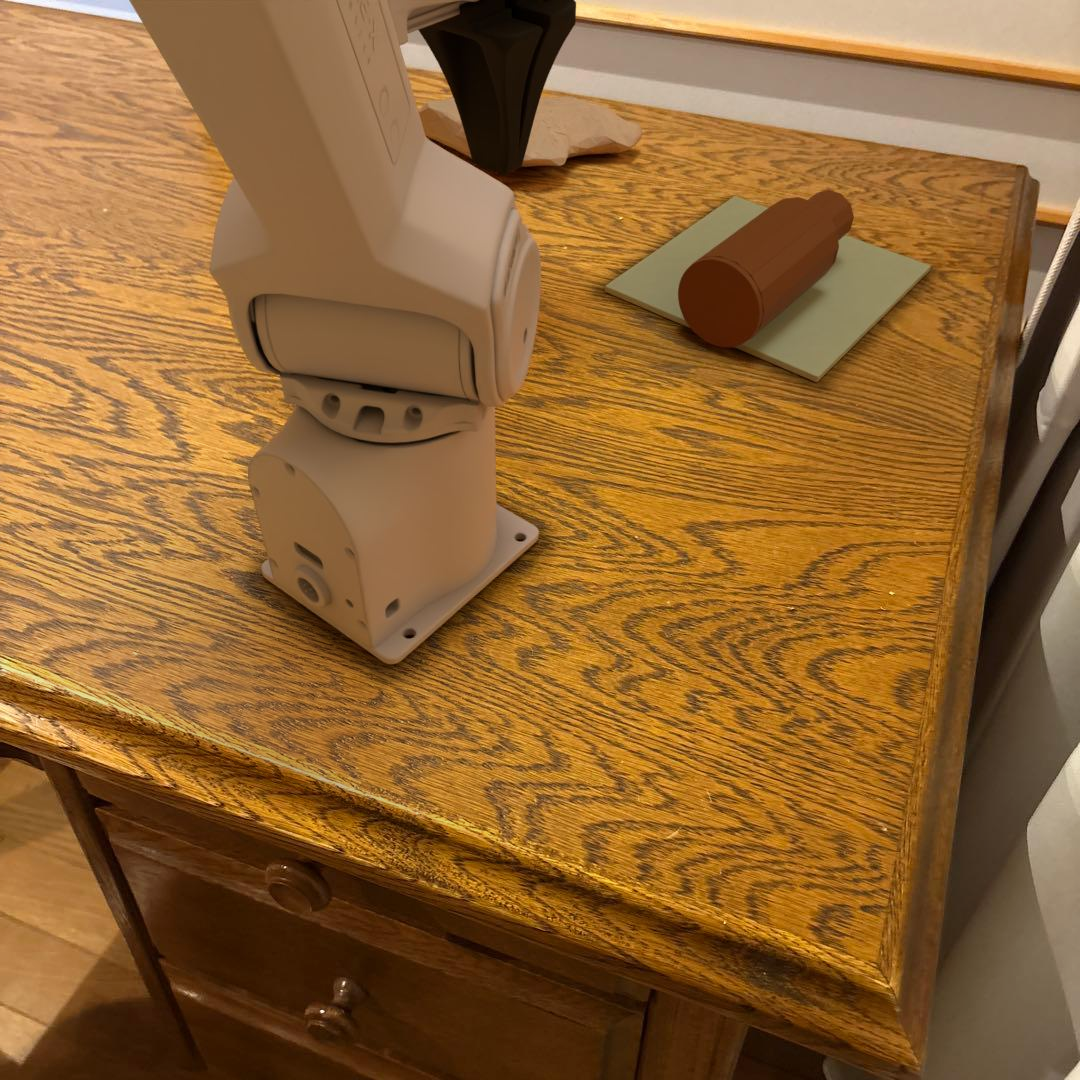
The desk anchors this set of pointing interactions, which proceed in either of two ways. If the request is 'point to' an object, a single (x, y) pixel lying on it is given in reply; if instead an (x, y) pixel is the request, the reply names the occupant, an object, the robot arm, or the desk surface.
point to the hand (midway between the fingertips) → (497, 165)
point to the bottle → (763, 267)
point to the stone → (544, 130)
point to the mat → (811, 320)
